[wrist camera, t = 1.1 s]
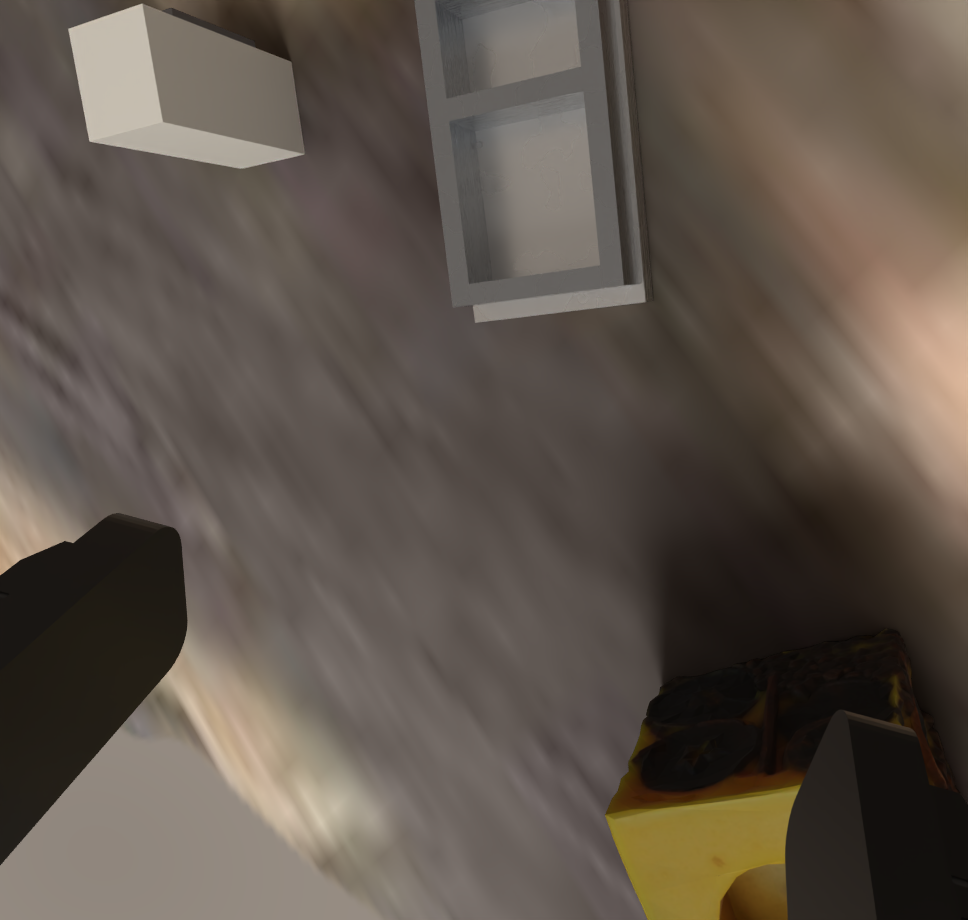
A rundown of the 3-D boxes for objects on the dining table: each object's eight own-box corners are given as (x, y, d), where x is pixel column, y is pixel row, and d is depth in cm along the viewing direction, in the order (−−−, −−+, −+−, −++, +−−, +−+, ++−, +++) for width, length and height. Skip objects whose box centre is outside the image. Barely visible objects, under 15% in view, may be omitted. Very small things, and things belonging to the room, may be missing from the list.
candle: (898, 622, 33) (921, 753, 24) (986, 857, 33) (1041, 1072, 24) (653, 676, 37) (595, 805, 28) (735, 883, 38) (703, 1075, 29)
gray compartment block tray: (428, -186, 34) (266, -368, 24) (605, -256, 31) (500, -493, 21) (488, 320, 37) (367, 336, 27) (653, 300, 34) (581, 311, 24)
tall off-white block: (225, 68, 39) (65, 14, 31) (289, 50, 38) (139, -12, 30) (241, 168, 40) (89, 141, 32) (305, 154, 39) (162, 122, 31)
